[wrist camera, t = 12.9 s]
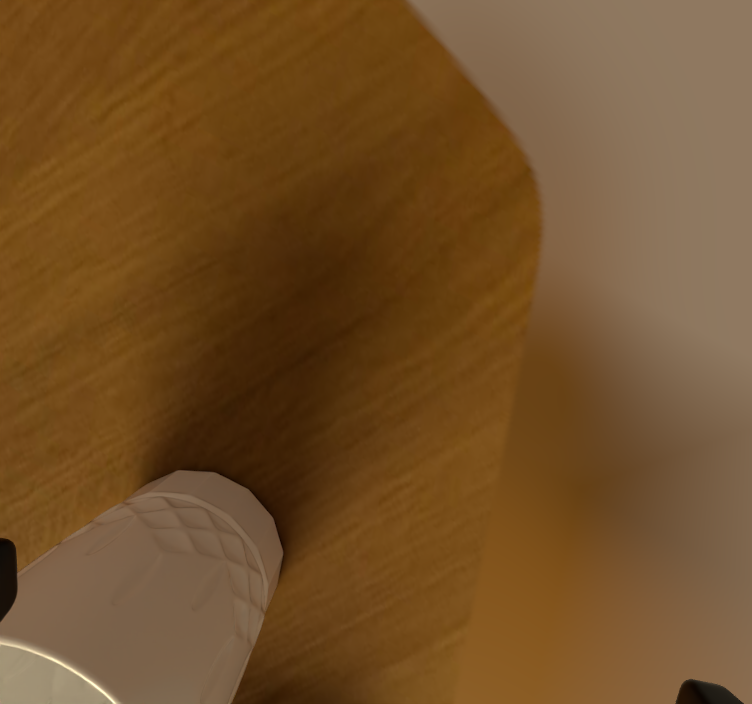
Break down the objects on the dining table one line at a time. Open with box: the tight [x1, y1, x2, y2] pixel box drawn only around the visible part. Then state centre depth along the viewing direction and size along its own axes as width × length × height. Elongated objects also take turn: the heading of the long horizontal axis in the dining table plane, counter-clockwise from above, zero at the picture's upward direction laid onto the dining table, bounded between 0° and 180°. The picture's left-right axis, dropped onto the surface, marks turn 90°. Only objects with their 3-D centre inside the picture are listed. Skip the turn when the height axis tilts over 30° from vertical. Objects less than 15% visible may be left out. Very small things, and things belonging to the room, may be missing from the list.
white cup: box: [0, 470, 283, 704], centre depth 18 cm, size 8×8×10 cm
